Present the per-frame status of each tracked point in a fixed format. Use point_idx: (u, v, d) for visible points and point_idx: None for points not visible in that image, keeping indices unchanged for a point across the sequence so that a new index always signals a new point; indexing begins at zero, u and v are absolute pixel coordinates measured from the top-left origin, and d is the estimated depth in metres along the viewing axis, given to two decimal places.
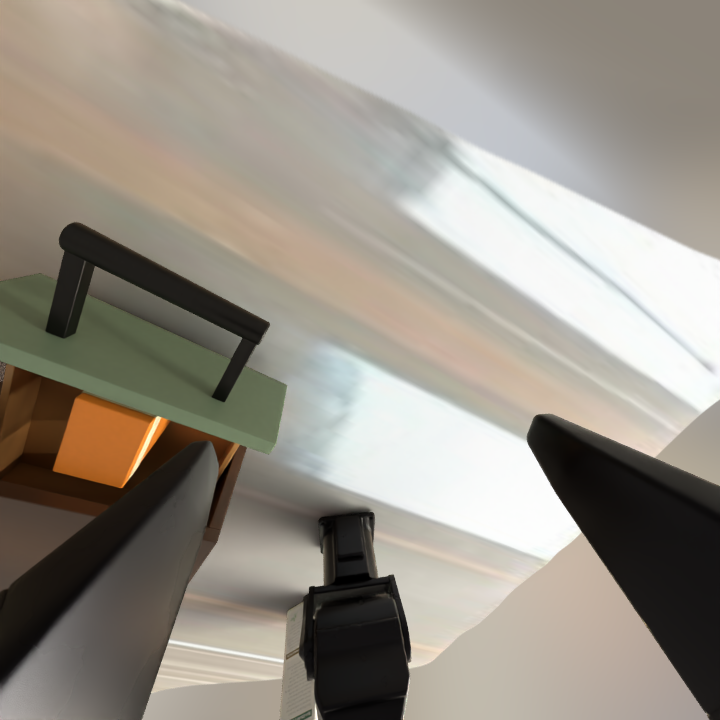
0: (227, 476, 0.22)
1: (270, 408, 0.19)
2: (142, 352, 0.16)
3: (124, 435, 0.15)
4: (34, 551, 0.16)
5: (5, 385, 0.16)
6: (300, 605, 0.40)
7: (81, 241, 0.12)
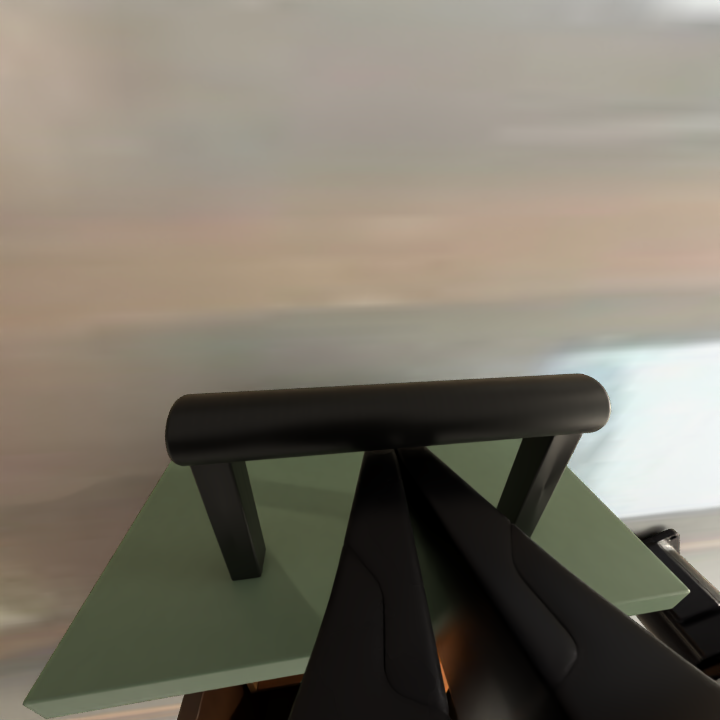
0: None
1: (577, 499, 0.10)
2: None
3: None
4: None
5: None
6: None
7: (207, 438, 0.05)
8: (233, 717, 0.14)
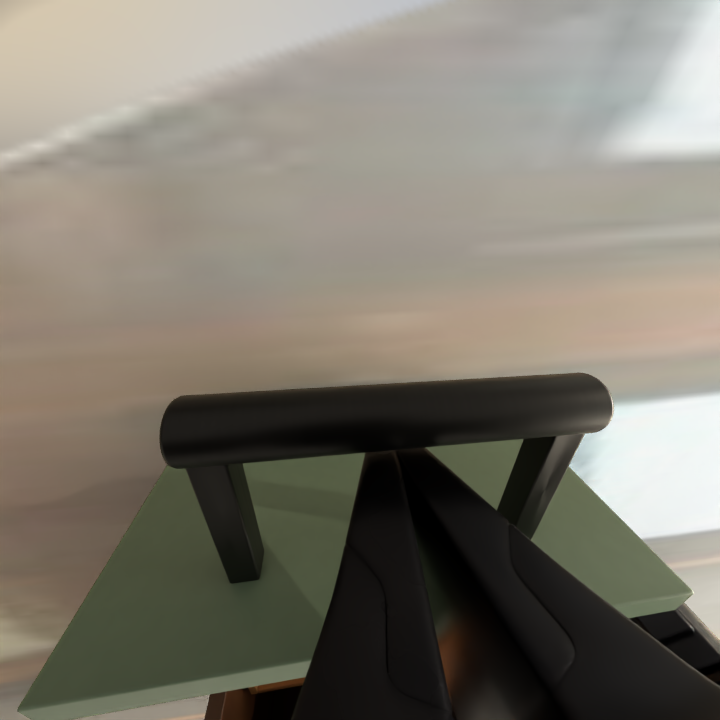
0: None
1: (578, 499, 0.10)
2: None
3: None
4: None
5: None
6: None
7: (202, 441, 0.05)
8: None
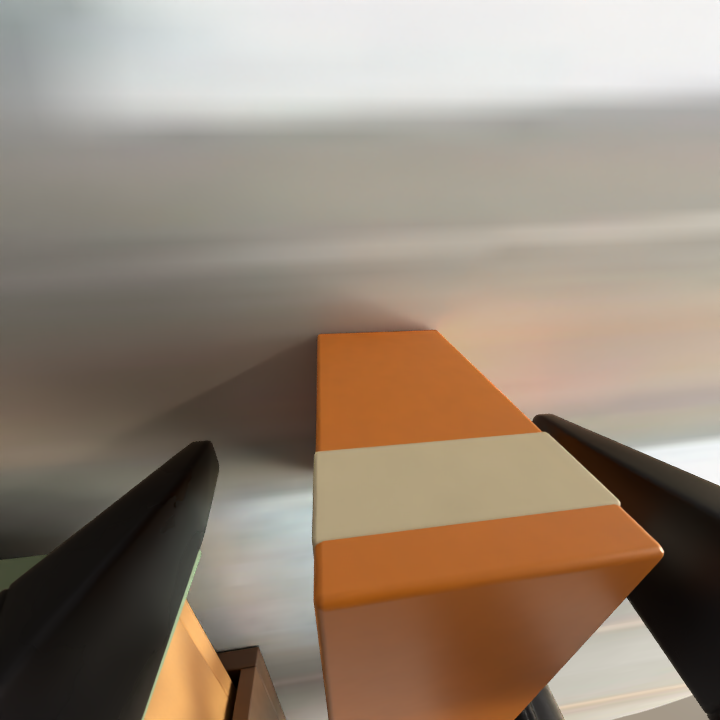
0: None
1: None
2: None
3: (542, 631, 0.03)
4: None
5: None
6: None
7: None
8: None
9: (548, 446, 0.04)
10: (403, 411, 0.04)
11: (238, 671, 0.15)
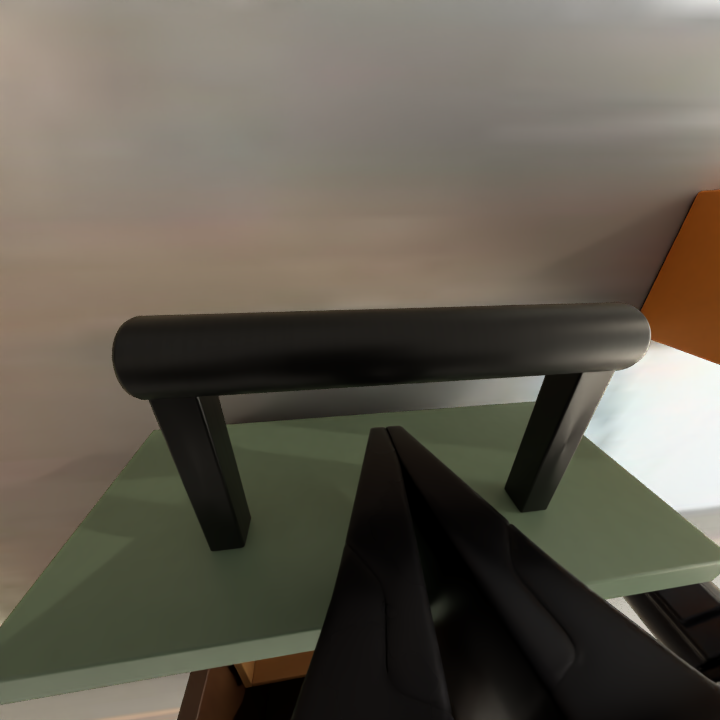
0: None
1: (597, 466, 0.09)
2: (353, 484, 0.08)
3: None
4: None
5: None
6: None
7: (163, 358, 0.04)
8: None
9: None
10: None
11: None
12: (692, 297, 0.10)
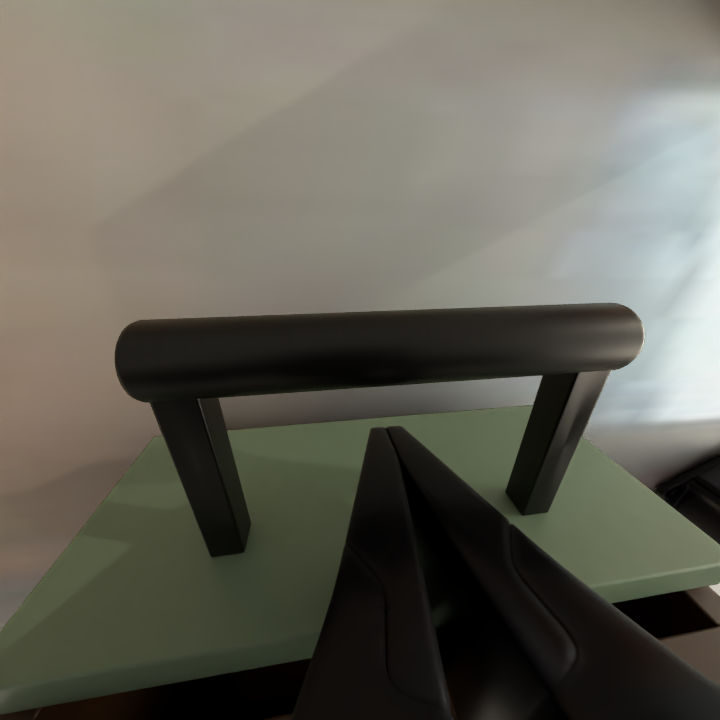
0: None
1: (598, 469, 0.09)
2: (353, 489, 0.08)
3: None
4: None
5: None
6: None
7: (165, 360, 0.04)
8: None
9: None
10: None
11: None
12: None
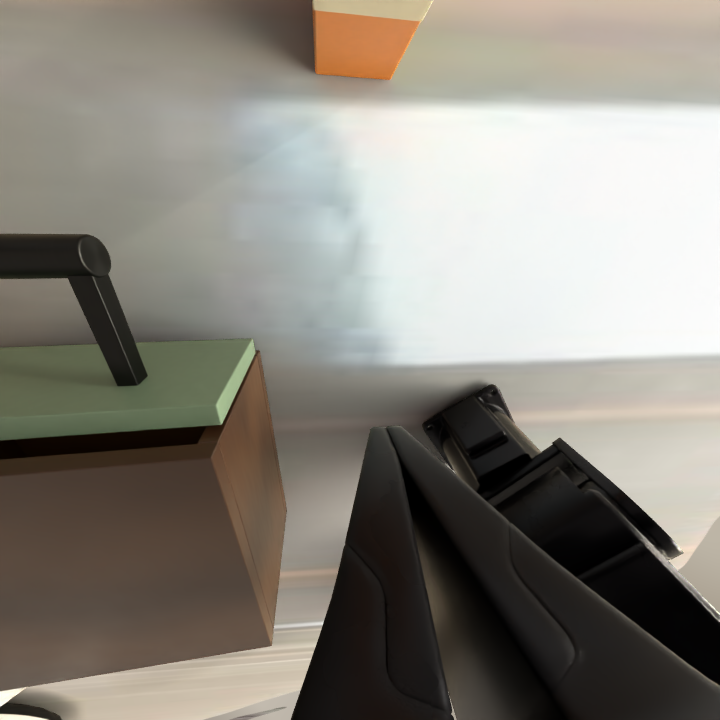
0: None
1: (217, 368, 0.13)
2: (28, 374, 0.12)
3: None
4: None
5: None
6: None
7: None
8: None
9: None
10: None
11: None
12: None
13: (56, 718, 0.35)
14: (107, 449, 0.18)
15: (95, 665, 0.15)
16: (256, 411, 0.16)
